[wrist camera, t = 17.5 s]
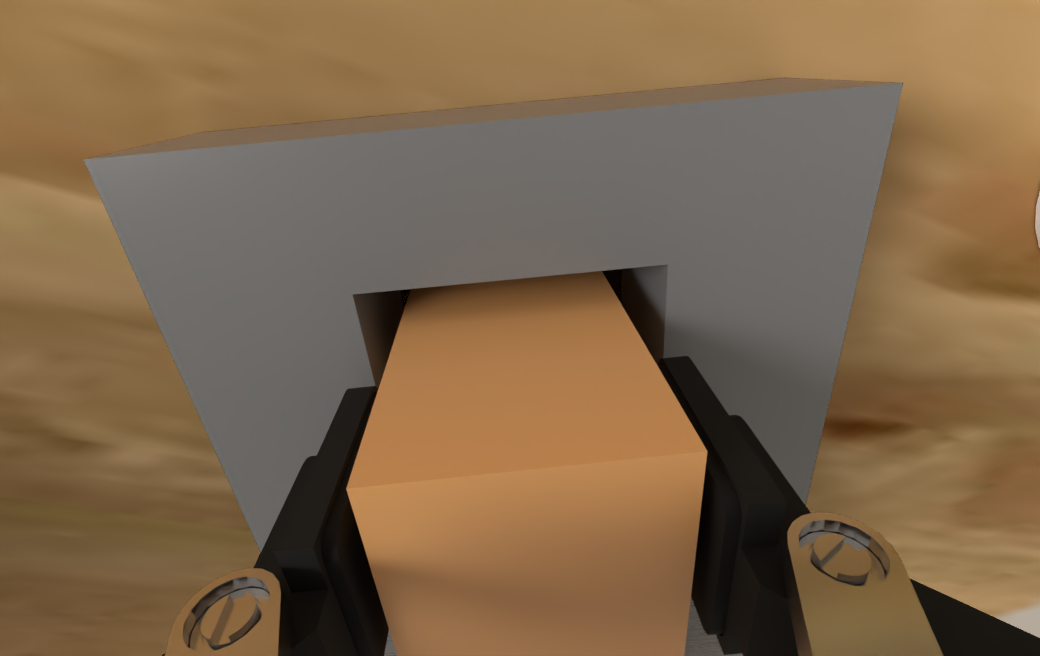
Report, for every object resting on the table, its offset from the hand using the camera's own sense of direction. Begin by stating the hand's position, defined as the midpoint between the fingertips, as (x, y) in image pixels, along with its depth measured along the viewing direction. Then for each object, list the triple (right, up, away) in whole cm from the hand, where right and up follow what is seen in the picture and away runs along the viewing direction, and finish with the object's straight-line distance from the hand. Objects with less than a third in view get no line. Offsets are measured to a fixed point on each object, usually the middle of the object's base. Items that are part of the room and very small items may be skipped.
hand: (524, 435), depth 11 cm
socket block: (0, -1, +6) cm, 6 cm away
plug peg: (0, +2, +4) cm, 5 cm away
